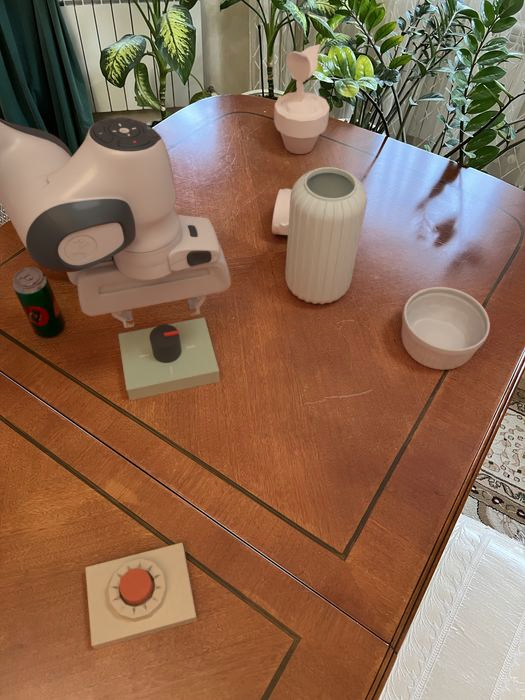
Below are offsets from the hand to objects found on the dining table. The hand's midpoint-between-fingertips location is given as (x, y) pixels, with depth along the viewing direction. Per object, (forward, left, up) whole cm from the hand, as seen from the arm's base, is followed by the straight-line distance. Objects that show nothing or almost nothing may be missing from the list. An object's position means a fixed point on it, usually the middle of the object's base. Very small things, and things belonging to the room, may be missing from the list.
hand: (162, 317), depth 82 cm
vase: (+28, +10, -11) cm, 32 cm away
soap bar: (+30, +26, -11) cm, 41 cm away
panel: (0, 0, -11) cm, 11 cm away
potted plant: (+38, +52, -11) cm, 65 cm away
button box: (-9, -34, -11) cm, 37 cm away
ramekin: (+43, -7, -11) cm, 45 cm away
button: (-9, -34, -8) cm, 36 cm away
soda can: (-18, +12, -11) cm, 25 cm away
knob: (0, 0, -8) cm, 8 cm away
